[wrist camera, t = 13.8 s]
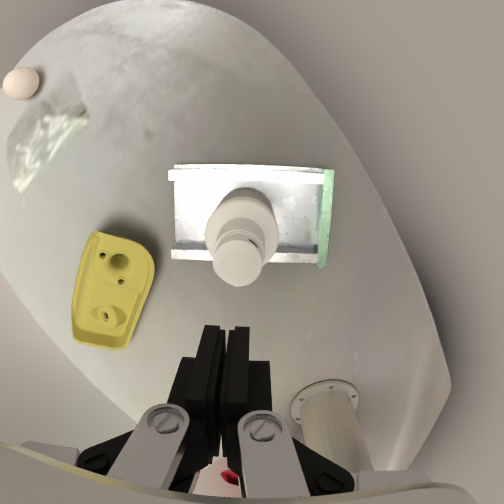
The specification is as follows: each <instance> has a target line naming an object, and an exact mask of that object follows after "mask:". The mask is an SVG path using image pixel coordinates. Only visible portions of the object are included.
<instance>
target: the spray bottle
mask: <svg viewBox="0 0 504 504" xmlns="http://www.w3.org/2000/svg"><path fill="white" fill-rule="evenodd" d="M204 234H205V244H206V246H207V249H208V251H209V253H210V255H211V256H212V257H213V261H212V263H213V269H214V270H215V272H216V274H217V275H218V276H219V277H220V278H221V279H223V280H224V281H225V282H227V283H229V284H231V285H233V286H235V287H241V286H245V285H248V284H251V283H252V282H253V281H255V280H256V279H257V277H258V276H259V275H260V273H261V270H262V266H263V265H265V264H266V263H267V262H269V261H270V259H271V258H272V256H273V255H274V254H275V252H276V250H277V247H278V244H279V227H278V224H277V221H276V218H275V215H274V212H273V209H272V206H271V203H270V201H269V200H268V198H267V197H266V196H265V195H264V194H263V193H261V192H260V191H258V190H256V189H253V188H249V187H246V188H238V189H235V190H233V191H231V192H229V193H228V194H227V195H226V196H225V197H224V198H223V199H222V201H221V202H220V203H219V205H218V206H217V207H216V208H215V210H214V211H213V213H212V214H211V216H210V217H209V219H208V221H207V224H206V228H205V232H204Z"/></svg>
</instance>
